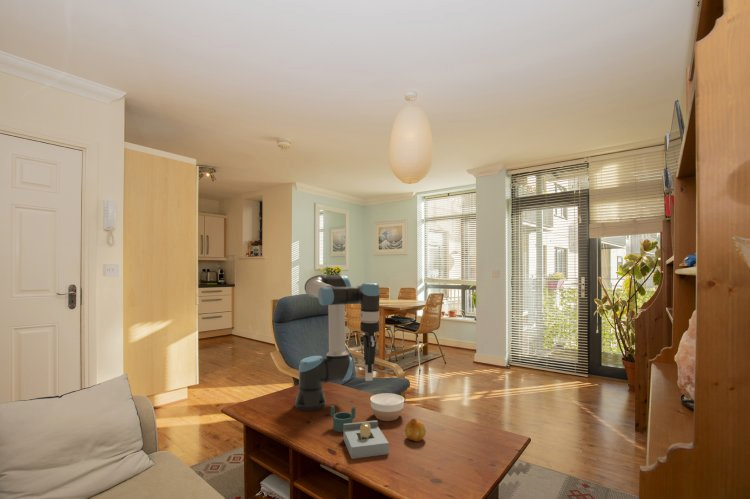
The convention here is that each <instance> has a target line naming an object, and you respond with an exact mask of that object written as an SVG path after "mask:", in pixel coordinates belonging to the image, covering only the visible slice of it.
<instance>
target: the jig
mask: <svg viewBox="0 0 750 499" xmlns="http://www.w3.org/2000/svg"><path fill="white" fill-rule="evenodd" d="M362 423H369V424H370V425H371V432H370V439H363V440H360V424H362ZM342 433H343V436H342V438H343V439H342V440H343V441H344V444H345V447H346V448H347V451H348V453H349V456H350V459H351V460H354V459H361V458H368V457H376V456H383V455H389V454H390V443H389V441H388V440H387V438H386V437H385V436H386V435H384V433H383V432H382V430H381V429H380V427H379V422H378V420H368V421H367V420H366V421H358V422H353V423H346V424H344V425H343V432H342Z"/></svg>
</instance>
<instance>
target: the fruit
mask: <svg viewBox="0 0 750 499" xmlns="http://www.w3.org/2000/svg"><path fill="white" fill-rule="evenodd" d="M426 432H427V431H426V427H425V424H423V422H421V420H419V419H416V418H412V419H410V420H409V421H408V422H407V423H406V424H405V427H404V434H405V437H407V439H409V440H410V441H413V442H421V441H422V440H423V439H424V438H425V436H426Z"/></svg>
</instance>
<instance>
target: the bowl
mask: <svg viewBox="0 0 750 499" xmlns="http://www.w3.org/2000/svg"><path fill="white" fill-rule="evenodd" d="M369 400H370V409H371V411H372V414H374V416H375V418H376V419H378V420H380V421H386V422H390V421H395V420H397V419H398V418H399V417H400V415H401V414H402V412H403V411H404V407H405V406H404V404H405V403H404V402H405V398H404V397H403V396H402V395H399V394H397V393H390V392H389V393H388V392H386V393H385V392H384V393H383V392H382V393H377V394H373V395H372V396H370V398H369Z"/></svg>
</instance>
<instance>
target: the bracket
mask: <svg viewBox="0 0 750 499" xmlns="http://www.w3.org/2000/svg"><path fill="white" fill-rule="evenodd" d="M335 409H336V408H335V405H330V418H333V419H332V420H333V421H332V422H333V423H332V425H333V426H332V429H333V430H334V431H335V432H338V433H343V425H344V424H346V423H354V422H353V420H354V419H355V418H356V406H351V410H350V411H351V412H347V411H341V412H340V411H339V412H336V413H335Z"/></svg>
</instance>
